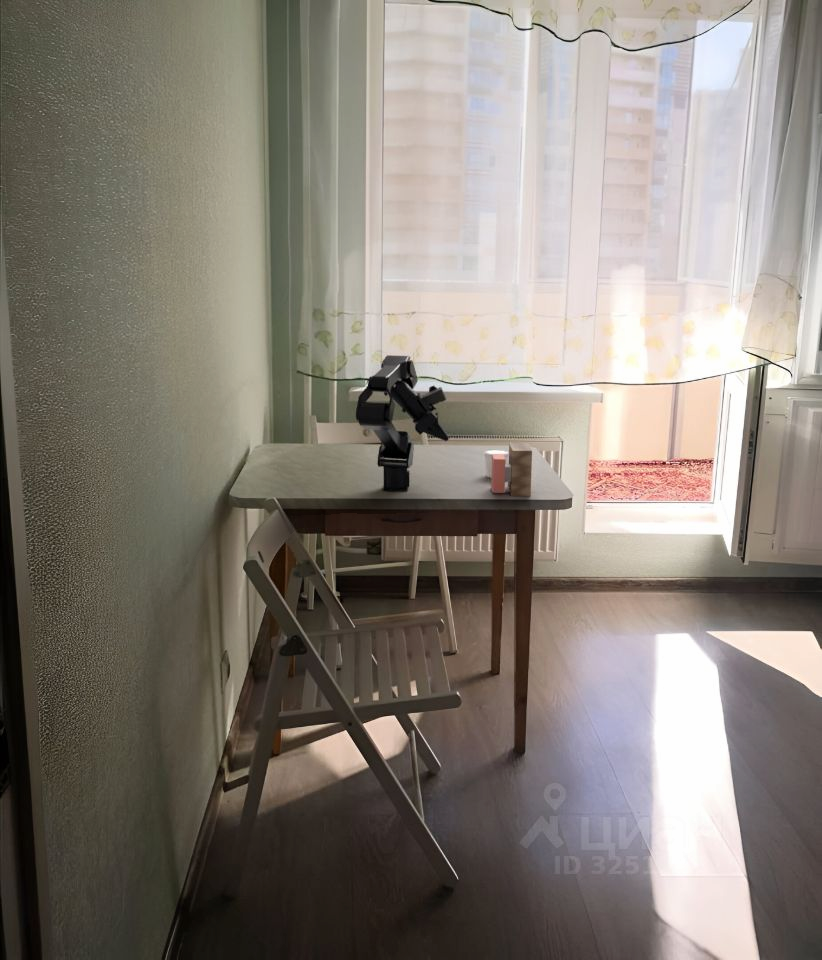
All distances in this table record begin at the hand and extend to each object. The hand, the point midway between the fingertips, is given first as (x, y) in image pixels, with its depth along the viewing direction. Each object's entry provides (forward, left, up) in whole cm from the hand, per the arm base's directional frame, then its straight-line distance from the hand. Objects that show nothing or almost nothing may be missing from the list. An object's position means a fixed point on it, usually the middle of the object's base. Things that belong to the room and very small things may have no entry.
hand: (447, 439), depth 247 cm
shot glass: (+14, +11, -13) cm, 22 cm away
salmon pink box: (+16, -6, -12) cm, 21 cm away
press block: (+19, -6, -13) cm, 23 cm away
